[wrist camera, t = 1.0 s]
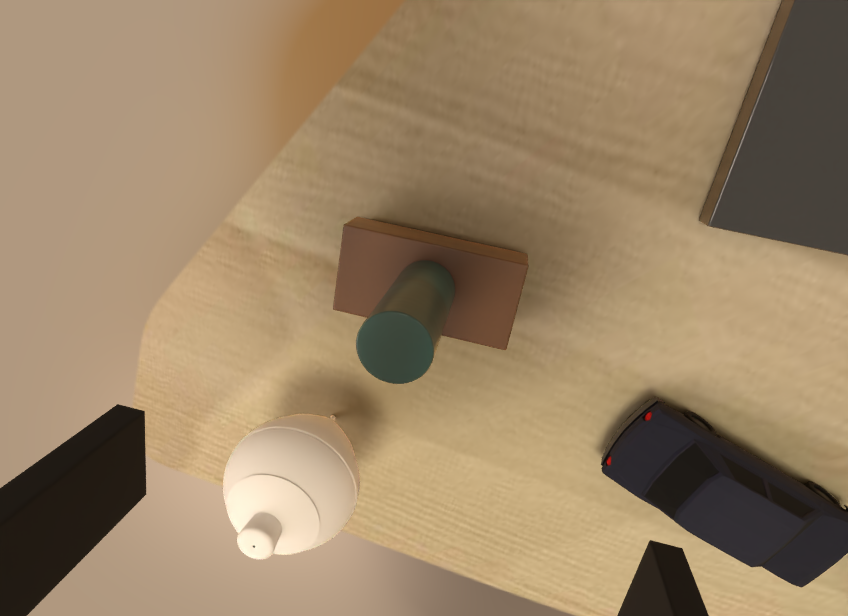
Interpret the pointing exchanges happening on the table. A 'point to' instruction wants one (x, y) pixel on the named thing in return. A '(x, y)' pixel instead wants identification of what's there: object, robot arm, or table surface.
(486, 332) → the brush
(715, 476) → the toy car
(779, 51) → the slate board
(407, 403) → the table surface
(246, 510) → the spinning top
